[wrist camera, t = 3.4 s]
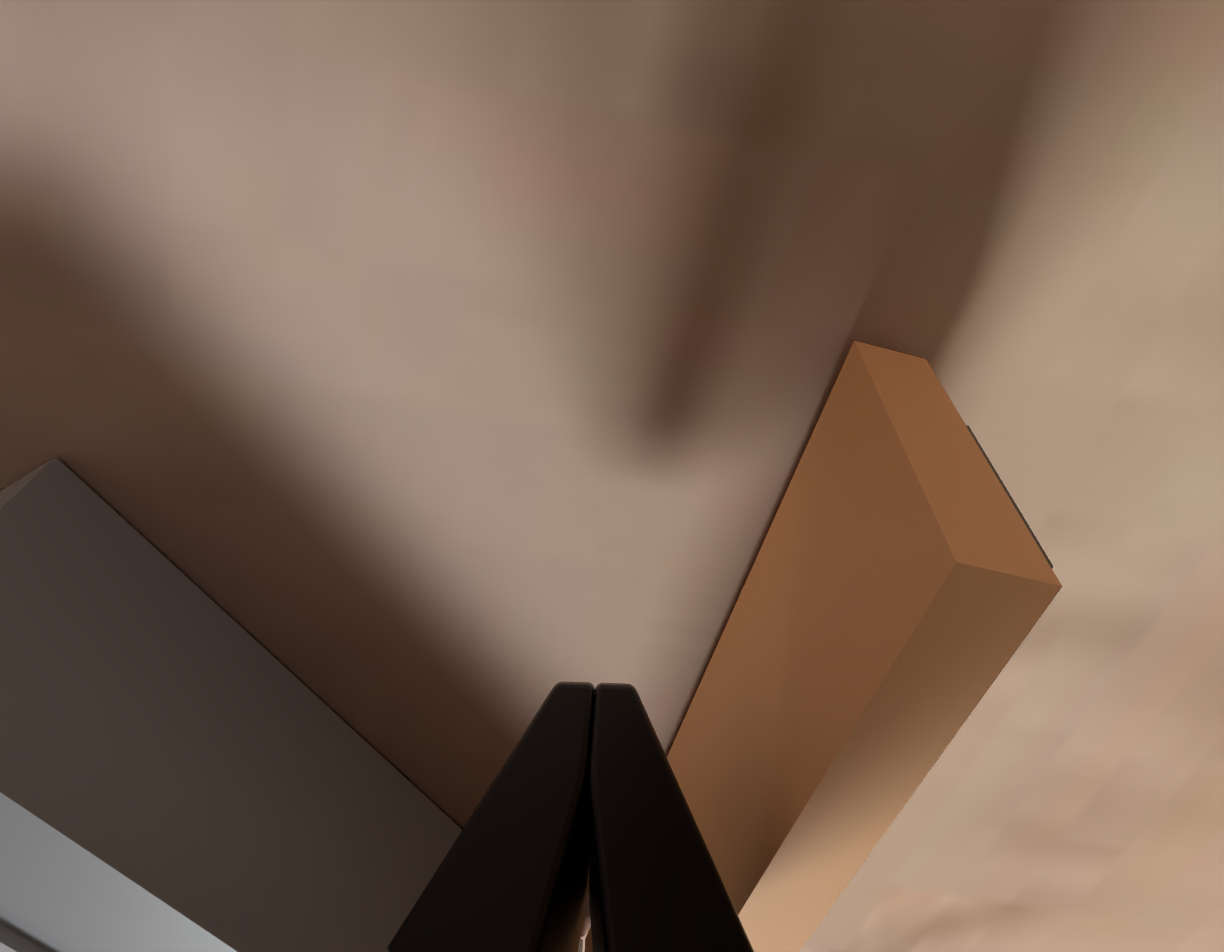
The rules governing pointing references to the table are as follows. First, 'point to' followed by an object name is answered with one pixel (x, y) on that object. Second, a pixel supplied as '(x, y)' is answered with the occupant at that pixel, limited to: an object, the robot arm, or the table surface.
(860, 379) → the case door
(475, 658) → the table surface
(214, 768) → the case
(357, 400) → the table surface
